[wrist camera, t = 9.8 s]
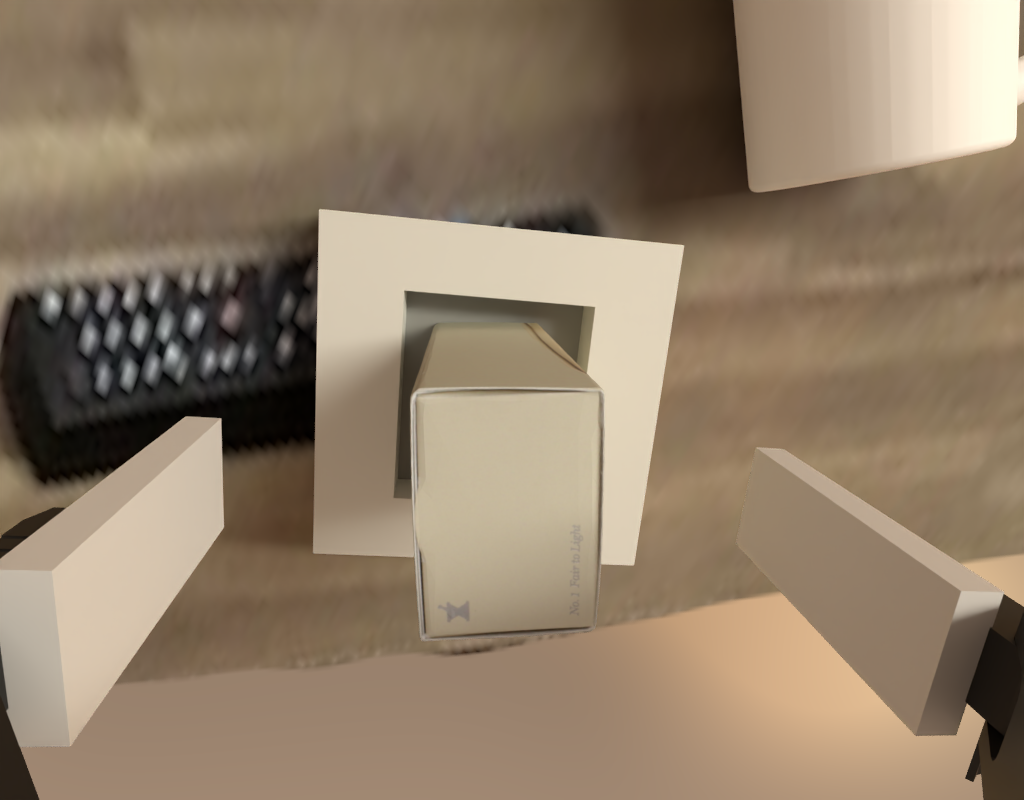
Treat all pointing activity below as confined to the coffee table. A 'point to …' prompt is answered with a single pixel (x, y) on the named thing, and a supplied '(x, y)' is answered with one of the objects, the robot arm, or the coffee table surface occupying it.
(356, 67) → the coffee table surface
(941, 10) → the mug
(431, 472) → the skincare box
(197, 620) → the coffee table surface
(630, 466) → the socket block
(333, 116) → the coffee table surface
